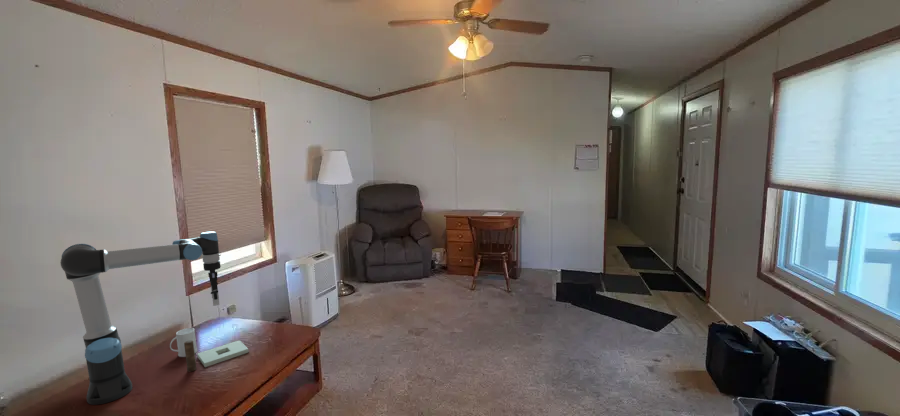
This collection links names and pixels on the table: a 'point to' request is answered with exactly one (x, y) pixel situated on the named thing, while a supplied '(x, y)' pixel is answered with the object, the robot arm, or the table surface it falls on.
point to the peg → (190, 356)
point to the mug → (184, 340)
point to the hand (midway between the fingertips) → (215, 301)
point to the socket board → (212, 354)
